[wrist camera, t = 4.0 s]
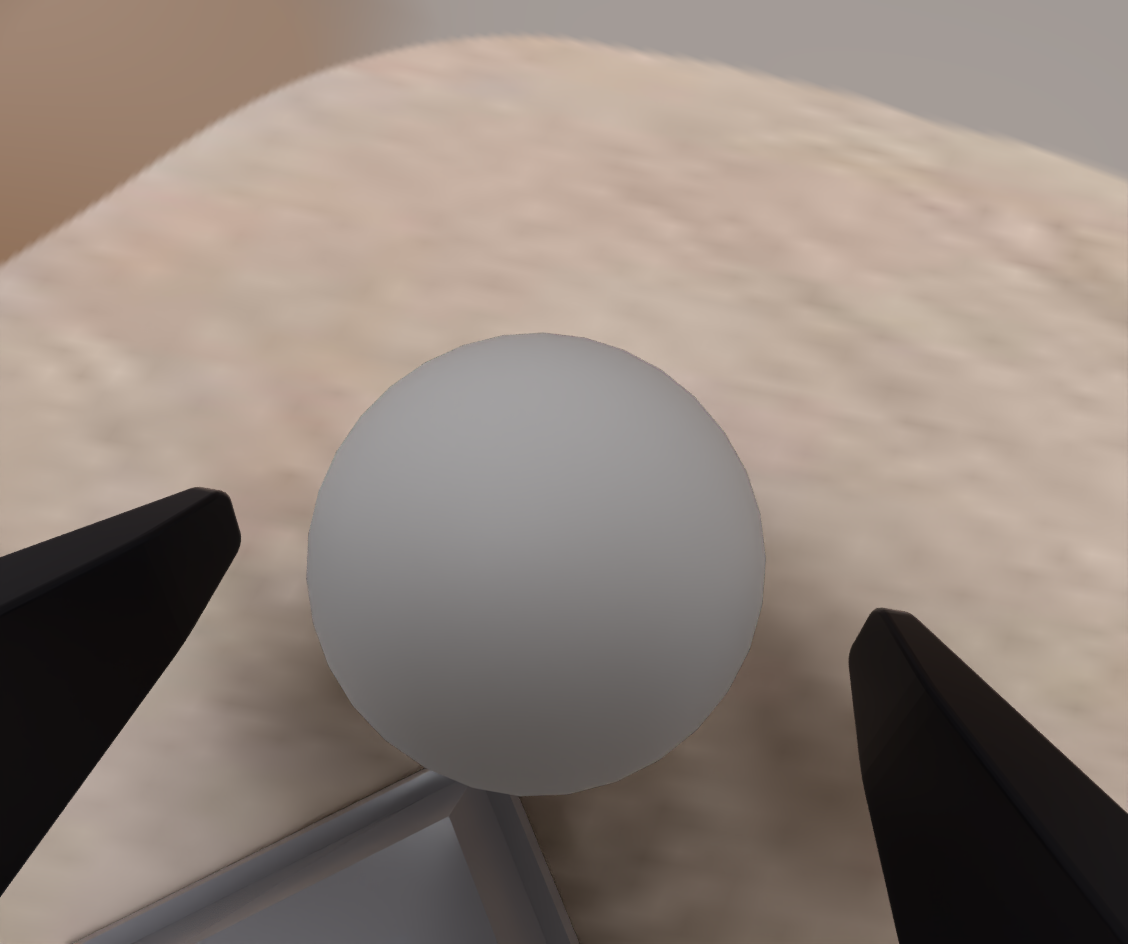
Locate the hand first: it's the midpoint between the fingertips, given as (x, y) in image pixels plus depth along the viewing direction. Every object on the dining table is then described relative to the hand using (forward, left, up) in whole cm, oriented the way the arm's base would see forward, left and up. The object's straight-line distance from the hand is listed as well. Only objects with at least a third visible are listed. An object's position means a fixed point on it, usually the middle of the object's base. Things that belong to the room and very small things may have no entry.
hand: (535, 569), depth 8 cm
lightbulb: (0, 0, -8) cm, 8 cm away
